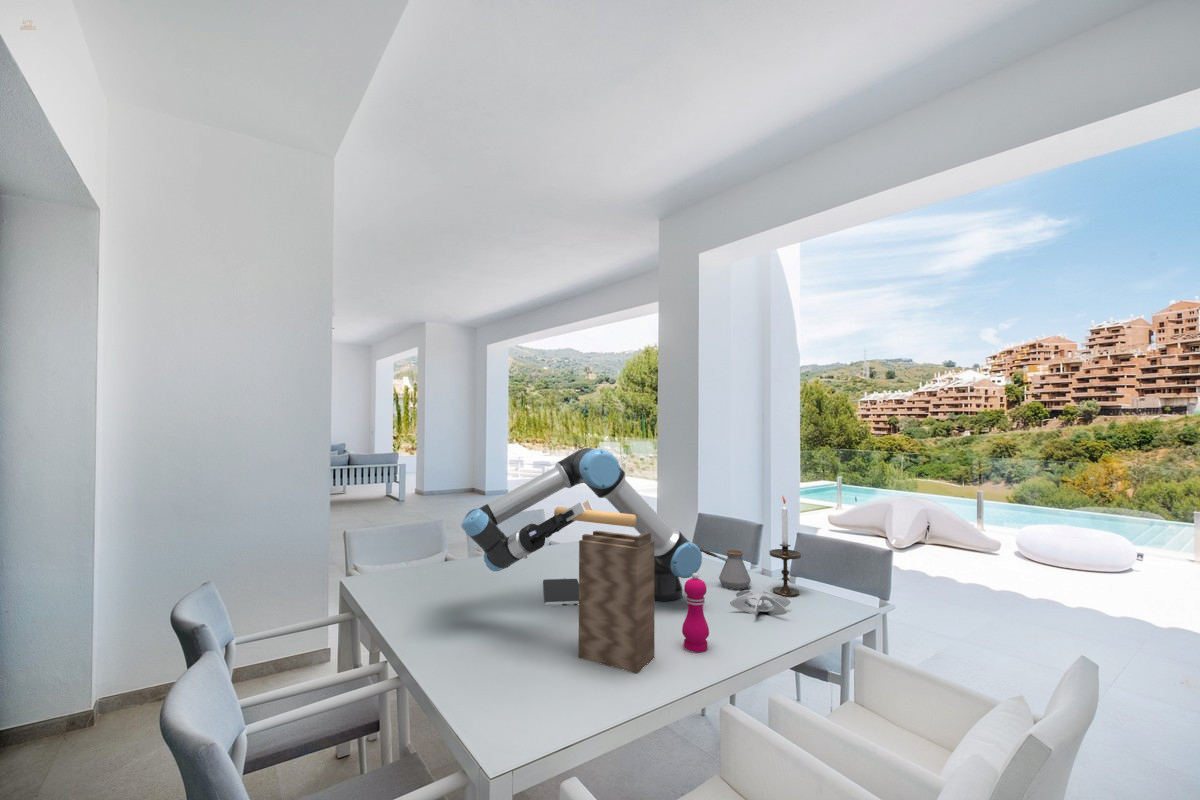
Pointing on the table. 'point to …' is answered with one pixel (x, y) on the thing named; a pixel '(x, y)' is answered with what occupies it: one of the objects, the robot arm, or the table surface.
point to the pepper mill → (695, 616)
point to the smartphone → (561, 591)
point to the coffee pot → (733, 570)
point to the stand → (616, 599)
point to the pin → (602, 517)
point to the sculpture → (776, 609)
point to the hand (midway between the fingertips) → (586, 505)
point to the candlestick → (785, 558)
